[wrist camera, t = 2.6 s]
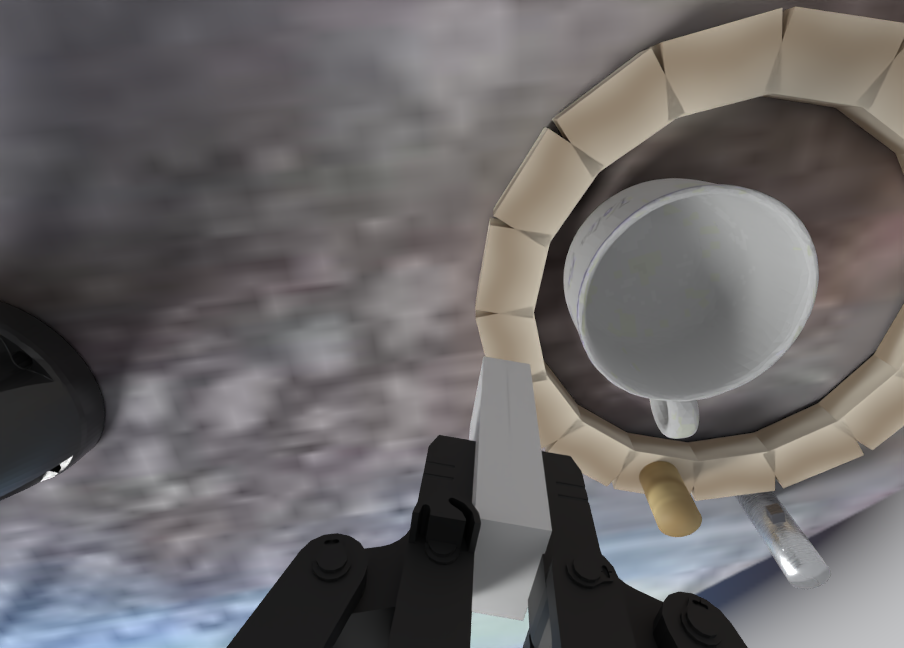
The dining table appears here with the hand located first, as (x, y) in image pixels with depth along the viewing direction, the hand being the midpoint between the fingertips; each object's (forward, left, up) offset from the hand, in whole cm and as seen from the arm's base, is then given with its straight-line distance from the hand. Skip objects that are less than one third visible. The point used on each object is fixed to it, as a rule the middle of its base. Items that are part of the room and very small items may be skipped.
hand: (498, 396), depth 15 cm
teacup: (+9, 0, -16) cm, 18 cm away
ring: (+14, 0, -16) cm, 21 cm away
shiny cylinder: (+22, -15, -16) cm, 31 cm away
